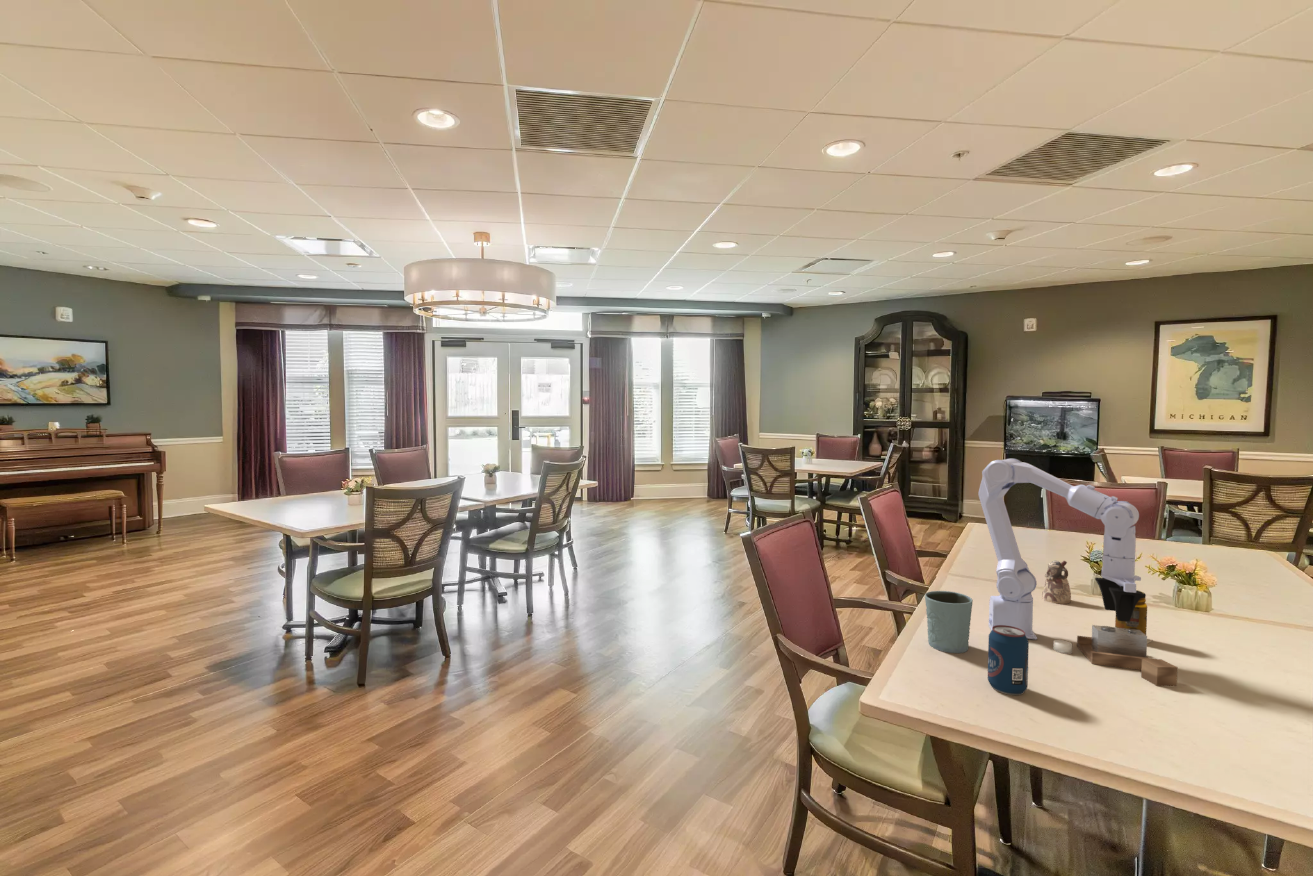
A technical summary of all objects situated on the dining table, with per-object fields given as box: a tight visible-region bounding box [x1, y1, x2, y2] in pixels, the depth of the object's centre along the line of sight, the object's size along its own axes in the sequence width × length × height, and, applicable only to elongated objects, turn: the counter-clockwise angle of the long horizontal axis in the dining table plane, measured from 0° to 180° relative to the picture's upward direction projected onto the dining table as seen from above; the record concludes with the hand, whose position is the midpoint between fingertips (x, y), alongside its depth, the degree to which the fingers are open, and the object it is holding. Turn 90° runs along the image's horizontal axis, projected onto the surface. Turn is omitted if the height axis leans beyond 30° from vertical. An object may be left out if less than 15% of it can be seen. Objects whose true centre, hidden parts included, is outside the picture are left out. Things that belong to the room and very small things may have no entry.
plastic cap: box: [1052, 639, 1073, 655], centre depth 139 cm, size 4×4×2 cm
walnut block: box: [1140, 658, 1178, 687], centre depth 122 cm, size 4×4×4 cm
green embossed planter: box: [924, 590, 974, 654], centre depth 141 cm, size 10×10×12 cm
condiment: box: [1114, 589, 1153, 645], centre depth 145 cm, size 7×8×12 cm
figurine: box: [1041, 560, 1072, 605], centre depth 176 cm, size 7×7×12 cm
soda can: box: [987, 625, 1029, 696], centre depth 119 cm, size 7×7×12 cm
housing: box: [1091, 624, 1148, 658], centre depth 134 cm, size 4×9×6 cm, turn 69°
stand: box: [1076, 635, 1154, 671], centre depth 134 cm, size 12×11×2 cm
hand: (1116, 615), depth 134 cm, fingers open, 7 cm apart
